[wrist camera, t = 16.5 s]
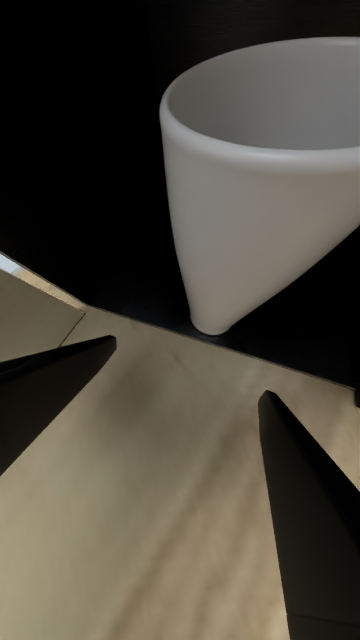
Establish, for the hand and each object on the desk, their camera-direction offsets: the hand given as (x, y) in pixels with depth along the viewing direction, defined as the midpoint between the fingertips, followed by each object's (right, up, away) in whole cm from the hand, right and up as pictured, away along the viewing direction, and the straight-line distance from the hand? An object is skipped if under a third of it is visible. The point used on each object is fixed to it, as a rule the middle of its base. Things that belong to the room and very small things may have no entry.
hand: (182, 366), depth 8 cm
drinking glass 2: (+4, +3, +9) cm, 11 cm away
